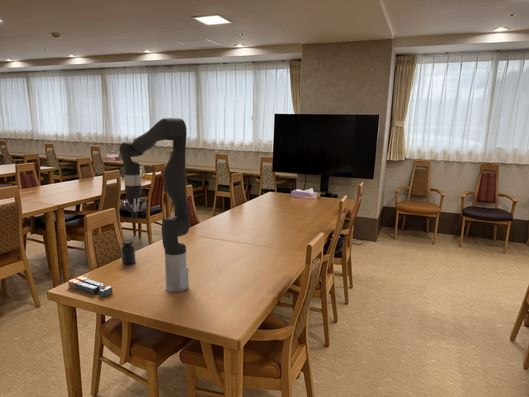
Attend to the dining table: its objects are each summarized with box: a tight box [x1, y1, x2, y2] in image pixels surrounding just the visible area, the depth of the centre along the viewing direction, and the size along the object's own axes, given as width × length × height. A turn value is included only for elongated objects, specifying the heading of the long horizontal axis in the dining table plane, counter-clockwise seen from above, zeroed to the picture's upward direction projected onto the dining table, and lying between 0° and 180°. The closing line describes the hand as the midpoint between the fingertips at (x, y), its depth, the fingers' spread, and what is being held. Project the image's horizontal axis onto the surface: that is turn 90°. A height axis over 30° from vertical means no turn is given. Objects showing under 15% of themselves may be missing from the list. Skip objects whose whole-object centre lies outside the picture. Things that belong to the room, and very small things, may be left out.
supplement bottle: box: [120, 239, 136, 266], centre depth 196 cm, size 7×7×12 cm
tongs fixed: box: [67, 278, 113, 298], centre depth 163 cm, size 21×5×4 cm, turn 63°
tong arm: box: [75, 275, 103, 293], centre depth 167 cm, size 16×3×3 cm, turn 62°
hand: (134, 218), depth 181 cm, fingers closed
